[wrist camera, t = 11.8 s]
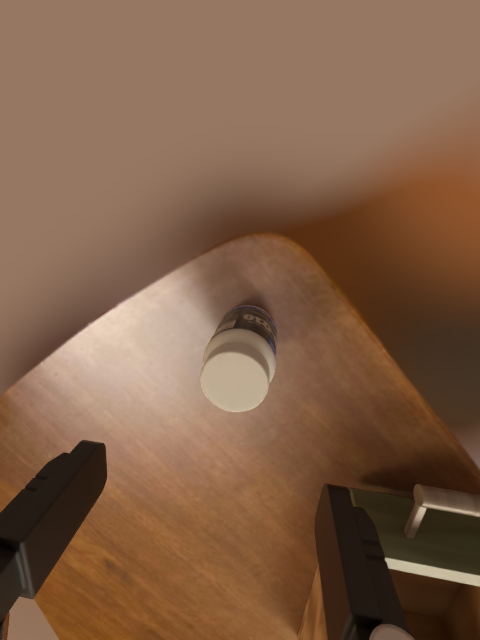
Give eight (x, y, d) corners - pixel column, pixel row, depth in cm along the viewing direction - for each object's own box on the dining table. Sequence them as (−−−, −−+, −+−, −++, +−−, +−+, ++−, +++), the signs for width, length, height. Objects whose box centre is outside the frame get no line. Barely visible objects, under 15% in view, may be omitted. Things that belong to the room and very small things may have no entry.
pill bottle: (288, 334, 24) (293, 390, 16) (246, 366, 26) (232, 432, 18) (249, 291, 24) (236, 328, 16) (208, 327, 25) (176, 378, 17)
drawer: (364, 445, 26) (387, 505, 20) (527, 472, 25) (597, 543, 19) (320, 586, 32) (329, 661, 27) (448, 612, 31) (484, 695, 26)
